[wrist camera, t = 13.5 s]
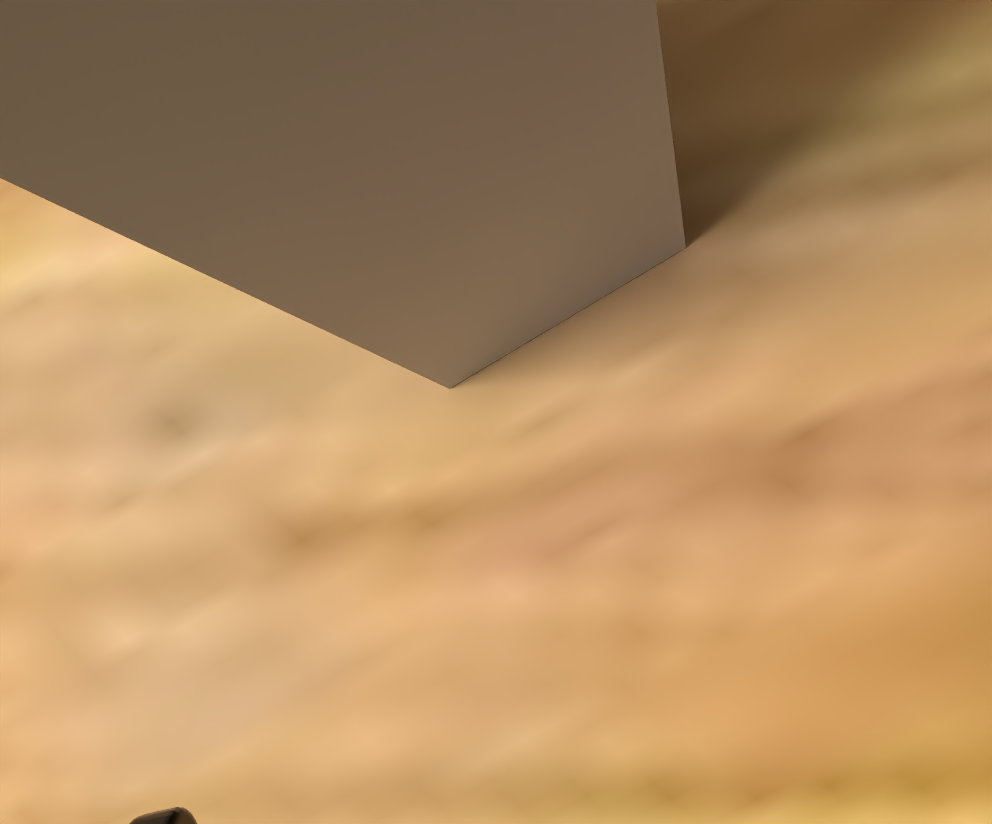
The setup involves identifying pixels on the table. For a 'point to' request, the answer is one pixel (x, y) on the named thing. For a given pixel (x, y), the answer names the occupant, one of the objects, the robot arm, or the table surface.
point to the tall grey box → (360, 154)
